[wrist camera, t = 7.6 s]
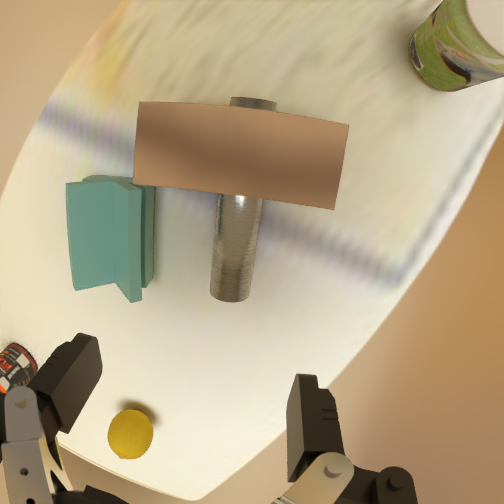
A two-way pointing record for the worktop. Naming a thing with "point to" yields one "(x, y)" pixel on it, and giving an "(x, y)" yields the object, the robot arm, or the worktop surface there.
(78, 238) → the v block
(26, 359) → the supplement bottle
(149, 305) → the worktop surface
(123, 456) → the lemon
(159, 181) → the brown wooden block
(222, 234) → the axle
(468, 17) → the beverage can
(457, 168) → the worktop surface
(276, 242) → the worktop surface
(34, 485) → the robot arm
